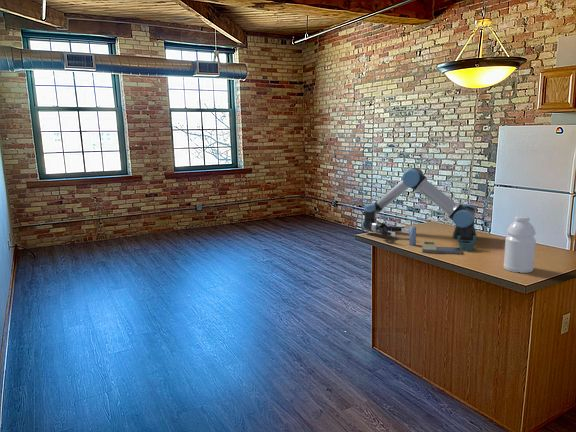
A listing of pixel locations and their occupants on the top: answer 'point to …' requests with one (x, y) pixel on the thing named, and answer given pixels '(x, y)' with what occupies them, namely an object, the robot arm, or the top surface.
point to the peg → (412, 236)
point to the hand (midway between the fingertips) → (402, 233)
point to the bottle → (520, 246)
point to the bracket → (466, 244)
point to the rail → (438, 248)
